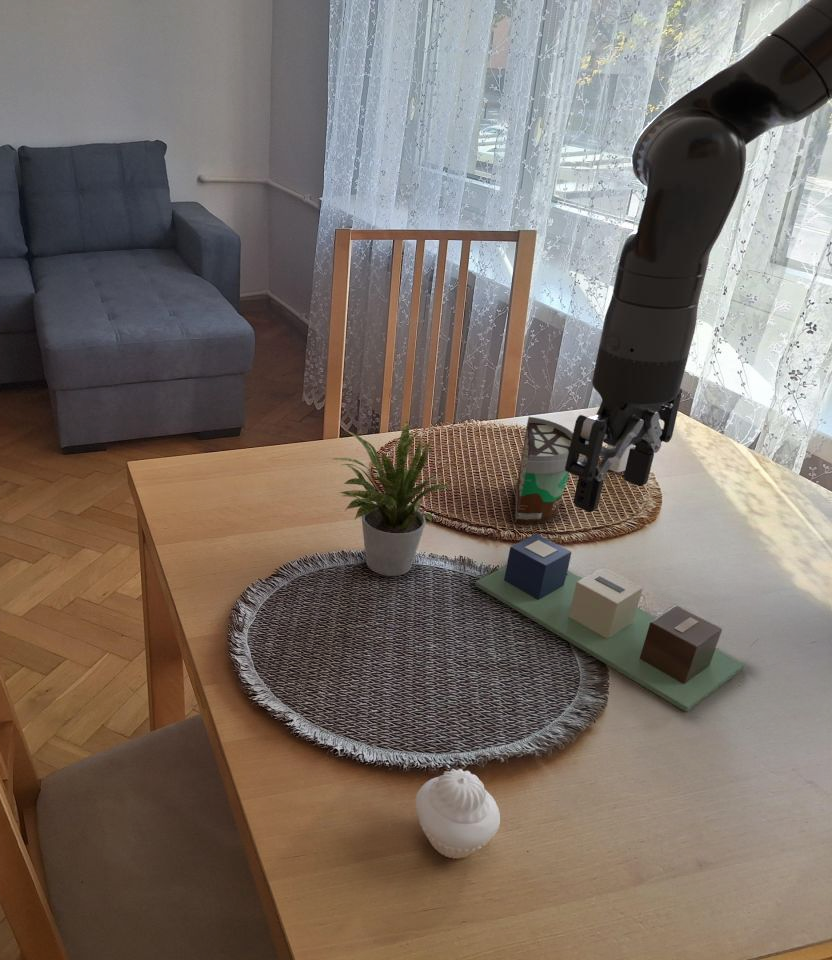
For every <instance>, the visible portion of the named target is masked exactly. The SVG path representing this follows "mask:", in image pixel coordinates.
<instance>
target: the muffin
mask: <svg viewBox="0 0 832 960" xmlns="http://www.w3.org/2000/svg"><path fill="white" fill-rule="evenodd" d="M414 801H415V802H414V806H415V811H416V815H417V820H418V822H419V826H420V827H421V829H422V832H423V833H424V835H425V836H426V838H427V839H428V841H429V843H430V844H431V846H432V847H433V848H434V850H435V851H436V852H437V853H439V854H440V855H441V856H445V857H446V858H448V859H451V858H452V859H453V860H454V859H457V860H459V859H463V858H466V857H468V856H470V855H472V854H474V853H475V852H477V851H479V850H481V848H483V847H485V846H486V845H487V844H488V843H489V842H490V841H491V839H493V837H494V836H495V835H496V834H497V832H498V831H499V829H500V825H501V813H500V810H499V806H498V804H497V802H496V800H495V799H494V797H493V795H491V793H489V792H488V790H486V789H485V785H484V783H483V782H482V780H480V779H479V777H478V776H477V775H476V774H474V773H471V771H469V770H464V769H462V768H459V769H457V770H456V769H455V768H451V769H450V771H449V770H444V771H443V774H442V775H439V776H437V777H433V778H430V779H429V780H427V781H426V782H425V783H423V785H422V786H421V787H420V788H419V790H418V792H417V793H416V796H415V800H414Z"/></svg>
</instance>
